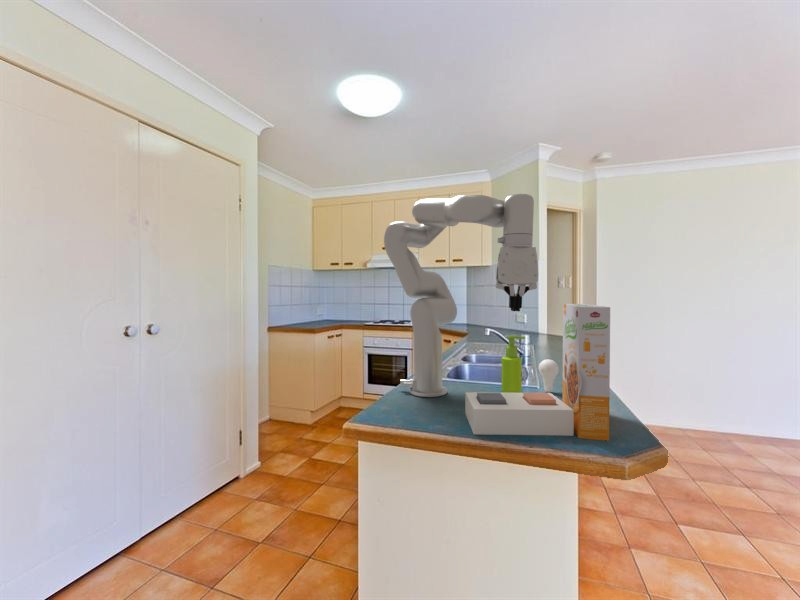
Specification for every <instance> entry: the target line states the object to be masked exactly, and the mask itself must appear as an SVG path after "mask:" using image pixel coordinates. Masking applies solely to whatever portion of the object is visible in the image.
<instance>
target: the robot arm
mask: <svg viewBox="0 0 800 600" xmlns="http://www.w3.org/2000/svg"><path fill="white" fill-rule="evenodd" d="M534 208H535V200H534V197H533V196H532V195H531V194H528V193H515V194H511V195H508V196H506V198H505V200H501V199H497V198H494V197H491V196H489V195H483V194H463V195H462V194H461V195H456V196H454V197H448V198H424V199H423V198H422V199H420V200H418V201H416V202H415V203H414V205H413V207H412V210H411V212H412V217H413V219H414V220H415V221H416V222H417V223H413V222H409V221H401V220H399V221H394V222H391V223H390V224H389V225H388V226H387V228H385V232H384V236H383V245H384V249H385V252H386V255H387V256H388V258H389V260H390V262H391V263H392V265H393V267H394V269H395V273H396V276H397V278H398V279H399V281H400V284H401V285H402V288H403V291H404V292H405V294H406V295H407V296H408V297H409V298H412V299H416V300H415V301H413V303H412V305H411V306H410V312H409V313H410V320H411V325H412V326H411V327H412V335H413V336H412V337H413V376H412V378H409V379H399V380H400V384H399V385H400V386H403V387H404V388H405V387H409V388H408V391H409V393H410V395H412V396H416V397H421V398H438V397H442V396H445V395H446V394H447V393H448V388H447V387H445V386H443V337H442V333H441V330H440V329H439V326H442V325H443V326H445V325H448V324H451V323H453V322H454V321H455V320H456V318H457V315H458V308H457V304H456V302H455V299H454V297H453V296H452V293H451V291H450V290H449V287H448V285H447V283H446V281H445V279H444V278H443V276H441V274H439V273H437V272H435V271H428V270H424V269H423V268H422V266H421V265H420V263H419V260H418V258H417V257H416V255H415V254H414V253H413V251H411V250H410V249H409V248H416V249H422V248H425V247H427V246H429V245H430V244H431V243H432V242H433V241H434V240H435V239H436V238H437V237H438V236H439V235H440V234H441V233H442V232H443V231H444V230H445V229H446V228H447V227H455V226H457V225H458V224H460V223H468V224H469V223H471V224H479V225H483V226H487V227H493V228H503V229H502V230H503V231H502V232H503V233H502V237H497V240H496V241H497V243H498V244H501V246H500V248H499V253H498V257H497V266H496V273H495V274H496V277H495V279H496V282H495V288H496V289H499V290H503V291H504V292H505V293H506V294H507V296H508V297H509V298H508V299H509V300H508V307H509V309H510V311H512V312H520V310H521V309H522V308H523V297H524V295H525V294H526V293H528V291H532V290H537V288H538V285H537V283H538V281H539V265H538V253H537V252H538V251H537V247H535V246H533V237H534V235H533V233H534V211H535V209H534ZM515 285H516V286H517V288H516V289H517V290H516V293H515Z"/></svg>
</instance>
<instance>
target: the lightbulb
mask: <svg viewBox="0 0 800 600" xmlns="http://www.w3.org/2000/svg"><path fill="white" fill-rule="evenodd" d="M559 369H560V368H559V365H558V364H557V362H556V361H554V360H552V359H548V358H547V359H542V361H540V363H539V364H538V371H539V373H540V375H541V378H542V383H543V389H544V392H546V393H551V392H553V390H554V388H553V387H554V384H555V383H554V381H555V379H556V377H557V375H558V373H559Z"/></svg>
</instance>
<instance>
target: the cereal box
mask: <svg viewBox="0 0 800 600" xmlns="http://www.w3.org/2000/svg"><path fill="white" fill-rule="evenodd" d="M610 363H611V307H609V306H605V305H598V304H597V305H596V304H588V303H562V394H561V395H562V400H561V401H562V402H564V403H565V404H566V405H568V406H569V407H570V408H572V409H573V410H574V433H575V434H576V436H577V438H578V439H586V440H597V441H605V440H607V442H609V441H610V395H611V393H610V389H611V387H610V381H611V379H610V377H611V374H610V372H611V364H610Z"/></svg>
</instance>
